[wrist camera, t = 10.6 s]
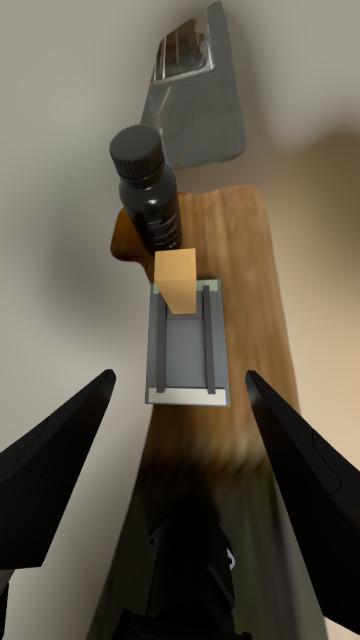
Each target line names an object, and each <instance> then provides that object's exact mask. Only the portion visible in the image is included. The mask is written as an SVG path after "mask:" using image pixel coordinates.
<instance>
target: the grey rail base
mask: <svg viewBox="0 0 360 640" xmlns="http://www.w3.org/2000/svg"><path fill="white" fill-rule="evenodd" d="M196 291H201V302H202V319H193V320H168V318H167V316H168V305H167V303H166V301H165V300H164V298H163V296H162V294H161V293H160V291H159V289H158V287H157V286H156V284H155V283H151V292H150V293H151V294H150V312H149V332H148V351H147V372H146V391H145V404H170V405H199V406H227V407H230V394H229V382H228V369H227V356H226V344H225V331H224V318H223V306H222V293H221V280H220V279H211V280H196Z"/></svg>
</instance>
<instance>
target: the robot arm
mask: <svg viewBox="0 0 360 640" xmlns="http://www.w3.org/2000/svg"><path fill="white" fill-rule="evenodd" d="M115 382H116V375H115V373H114V372H113V370H112V369H107V370H105V371H103V372H102V373H101V374H100V375H99V376H97V377H96V378H95V379H94V380H92V381H91V382H90V383H89V384H87V385H86V386H85V387H84V388H83V389H81V390H80V391H79V392H78V393H76V394H75V395H74V396H73V397H72V398H70V399H69V400H68V401H66V402H65V403H64V404H63V405H62V406H60V407H59V408H58V409H57V410H55V411H54V412H53V413H52V414H51V415H50V416H48V417H47V418H45V419H44V420H43V421H42V422H41V423H39V424H38V425H37V426H35V427H34V428H33V429H32V430H31V431H29V432H28V433H26V434H25V435H24V436H22V437H21V438H20V439H18V440H17V441H16V442H14V443H13V444H12V445H10V446H9V447H8V448H6V449H5V450H4V451H2V452H1V453H0V640H2V638H3V635H4V629H5V619H6V609H7V598H8V589H9V583H8V582H9V580H10V578H11V576H12V574H13V573H14V571H15V569H23V568H34V567H41V566H42V564H43V562H44V559H45V557H46V555H47V552H48V550H49V547H50V545H51V543H52V540H53V538H54V535H55V533H56V530H57V528H58V526H59V523H60V521H61V518H62V516H63V514H64V511H65V509H66V506H67V504H68V501H69V499H70V497H71V494H72V491H73V489H74V487H75V484H76V482H77V479H78V477H79V474H80V472H81V469H82V467H83V465H84V462H85V460H86V457H87V455H88V453H89V450H90V448H91V445H92V443H93V440H94V438H95V435H96V433H97V431H98V428H99V426H100V424H101V421H102V419H103V416H104V414H105V411H106V409H107V407H108V404H109V401H110V398H111V395H112V391H113V389H114V385H115ZM245 382H246V386H247V391H248V395H249V399H250V404H251V407H252V411H253V414H254V417H255V419H256V422H257V425H258V428H259V431H260V434H261V437H262V440H263V443H264V446H265V449H266V451H267V454H268V457H269V460H270V463H271V466H272V469H273V472H274V475H275V478H276V481H277V483H278V486H279V489H280V492H281V495H282V498H283V501H284V504H285V507H286V510H287V512H288V516H289V519H290V521H291V524H292V527H293V530H294V533H295V536H296V539H297V542H298V545H299V548H300V551H301V553H302V556H303V559H304V562H305V565H306V568H307V571H308V574H309V577H310V580H311V583H312V586H313V588H314V591H315V594H316V597H317V600H318V603H319V606H320V609H321V611H322V614H323V616H324V617H326V618H328V619H330V620H332V621H334V622H335V623H337V624H339V625H341V626H343V627H345V628H347V629H349V630H350V631H352V632H354V633H356V634H358V635H360V471H359V470H358V469H356V468H355V467H354V466H353V465H352V464H351V463H350V462H348V461H347V460H346V459H345V458H344V457H343V456H342V455H341V454H340V453H339V452H338V451H336V450H335V449H334V448H333V447H332V446H331V445H330V444H329V443H328V442H327V441H326V440H325V439H324V438H323V437H322V436H321V435H320V434H319V433H318V432H317V431H316V430H314V429H313V428H312V427H311V426H310V425H309V424H308V423H307V422H306V421H305V420H304V419H303V418H302V417H301V416H300V415H299V414H298V413H297V412H296V411H295V410H294V409H293V408H292V407H291V406H290V405H289V404H288V403H287V402H286V401H285V400H284V399H283V398H282V397H281V396H280V395H279V394H278V393H277V392H276V391H275V390H274V389H273V388H272V387H271V386H270V385H269V384H268V383H267V382H266V381H265V380H264V379H263V378H262V377H261V376H260V375H259V374H258V373H257V372H256V371H254V370H248V371H247V374H246V378H245ZM190 499H192V500H193V501H190ZM151 539H153V540H154V541H152V540H151ZM147 544H148V547H149V549H150V550H151V552H152V554H153V556H154V558H155V560H156V562H155V567H154V572H153V577H152V582H151V587H150V592H149V597H148V602H147V607H146V612H145V615H140V614H135V613H131V612H132V610H130V609H125V608H124V610H123V612H122V615H121V617H120V620H119V622H118V625H117V628H115V631H114V633H113V636H112V638H111V640H252V636H251V633H247V632H242V635H240V634H235V627H234V620H233V611H234V610H235V609H236V606H235V595H234V589H233V583H232V576H231V569H232V568H233V567H234V565H235V560H234V554H233V552H232V550H231V549H230V547H229V546H228V544H227V543H226V539H225V537H224V535H223V534H222V532H221V531H220V529H219V528H218V526H217V525H216V523H215V522H214V520H213V519H212V517H211V516H210V514H209V513H208V512H206V511H205V510H204V508H203V507H202V505H201V504H200V502H199V501H198V499H197V498H196V496H195V495H194V494H193V493H189V494H188V495H187V496H186V497H185V498H184V499H183V500H182V501H181V502H180V503H179V504H178V505H177V506H176V507H175V508H174V509H173V510H172V511H171V512H170V513H169V514H168V515H167V516H166V517H165V518H164V519H163V520H162V521H161V522H160V523H159V524H158V525H157V526H156V527H155V528H154V529H153V530H152V531H151V532H150V533H149V536H148V540H147ZM229 557H230V559H229Z"/></svg>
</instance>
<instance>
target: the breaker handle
mask: <svg viewBox="0 0 360 640" xmlns="http://www.w3.org/2000/svg"><path fill="white" fill-rule="evenodd" d="M154 282H155V284H156V286H157V287H158V289H159V291H160V293H161V294H162V296H163V298H164V300H165V301H166V303H167V305H168V316H167V318H168V320H193V319H202V302H201V291H196V258H195V248H193V249H181V250H169V251H157V252H155V273H154Z"/></svg>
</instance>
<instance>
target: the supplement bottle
mask: <svg viewBox="0 0 360 640" xmlns="http://www.w3.org/2000/svg"><path fill="white" fill-rule="evenodd" d="M109 151H110V155H111V157H112V160H113V162H114V164H115V167H116V170H117V172H118V175H119V177H120V179H121V180H120V184H119V195H120V199H121V201H122V204H123V206H124V208H125V210H126V212H127V214H128V216H129V218H130V220H131V222H132V224H133V226H134V228H135V230H136V232H137V234H138V236H139V238H140V240H141V242H142V244H143V246H144V248H145V249H146V251H147V252H148V253H149V254H150V255H152V256H155V252H157V251H169V250H178V249H179V248H180V246H181V244H182V240H183V234H182V224H181V216H180V207H179V199H178V191H177V183H176V178H175V176H174V174H173V172H172V170H171V169H170V168H169V167H168V166H167V165H166V164H165V158H164V153H163V151H162V145H161V140H160V135H159V133H158V131H157V130H156V129H155V128H153V127H152V126H149V125H145V124H144V125H142V124H139V125H134V126H130V127H127V128H125V129H124V130H122V131H121V132H119V133H118V134H117V135H116V136H115V137H114V138H113V139H112V142H111V143H110V150H109Z"/></svg>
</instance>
